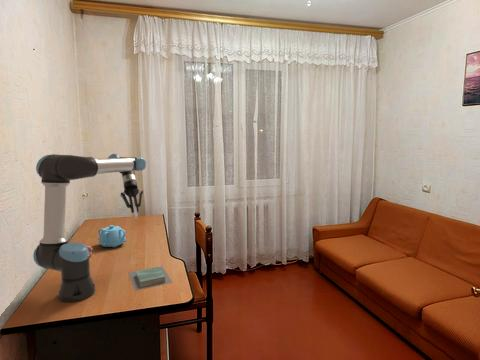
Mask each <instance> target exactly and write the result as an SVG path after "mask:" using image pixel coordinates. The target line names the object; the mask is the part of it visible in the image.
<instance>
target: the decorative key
mask: <svg viewBox="0 0 480 360" xmlns="http://www.w3.org/2000/svg"><path fill="white" fill-rule="evenodd" d="M86 246H87V248H88V249H90V251H88V252H89V258H90V257H92V255H93V254H92V253H93V252H92V251H93V248H92V246H90V245H86Z"/></svg>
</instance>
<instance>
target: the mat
mask: <svg viewBox="0 0 480 360" xmlns="http://www.w3.org/2000/svg"><path fill="white" fill-rule="evenodd" d="M158 267H159V268H160V270H161V271H162V273H163V274H164V276H165V282H161V283H156V284H152V285H147V286H142V287H140V284H139V282H138V279H137V277H136V271H137V270H136V271H131V272H128V275H129V278H130V281H131V284H132V286H133V288H134V291H139V290H140V291H141V290H145V289H149V288H154V287H159V286H163V285H167V284H172V283H173V281H172V280H171V277H170V276H169V275H168V273H167V272H166V270H165V268H164V267H163V266H162V265H161V266H158Z"/></svg>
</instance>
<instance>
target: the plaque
mask: <svg viewBox="0 0 480 360" xmlns="http://www.w3.org/2000/svg"><path fill="white" fill-rule="evenodd" d="M159 267H160V266H156V267H150V268H145V269H140V270H136V277H137V279H138V282H139V284H140V287H142V286H147V285H152V284H156V283H161V282H165V276H164V274H163V273H162V271H161V270H160V268H159Z"/></svg>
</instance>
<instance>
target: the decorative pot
mask: <svg viewBox="0 0 480 360" xmlns="http://www.w3.org/2000/svg"><path fill="white" fill-rule="evenodd" d="M97 232H98V243H99V245H101V246H102V247H104V248H109V247H110V248H111V247H112V248H117V247H119V246H121V245H122V244H123V243H126V242H127V238H126V233H127V232H126V231H125V229H123V228H121V226H119V225H113V224H110V225H108V226H106V227H105V228H104V227H103V228H102V227H101V228H99V229H98V231H97Z"/></svg>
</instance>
